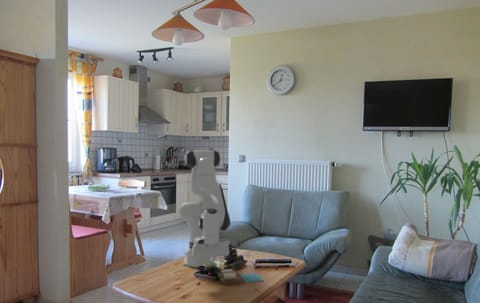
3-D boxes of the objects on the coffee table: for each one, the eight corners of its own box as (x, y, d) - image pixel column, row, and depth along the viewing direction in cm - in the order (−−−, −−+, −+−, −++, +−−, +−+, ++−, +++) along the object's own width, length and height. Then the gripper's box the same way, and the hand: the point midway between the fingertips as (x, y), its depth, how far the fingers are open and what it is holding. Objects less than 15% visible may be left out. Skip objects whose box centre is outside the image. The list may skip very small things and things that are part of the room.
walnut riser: (217, 276, 214) (217, 271, 214) (236, 274, 217) (236, 270, 217) (223, 285, 201) (223, 280, 201) (243, 283, 204) (243, 279, 204)
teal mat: (240, 274, 217) (240, 274, 217) (256, 273, 220) (256, 273, 220) (246, 282, 206) (246, 281, 206) (263, 281, 208) (263, 280, 208)
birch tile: (221, 273, 212) (221, 269, 212) (231, 272, 214) (231, 268, 214) (225, 278, 203) (225, 275, 203) (235, 277, 205) (235, 274, 205)
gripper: (228, 237, 211) (227, 262, 211) (191, 238, 205) (191, 264, 205) (230, 239, 205) (230, 265, 205) (193, 241, 199) (192, 267, 199)
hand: (210, 264), depth 205 cm, fingers closed
